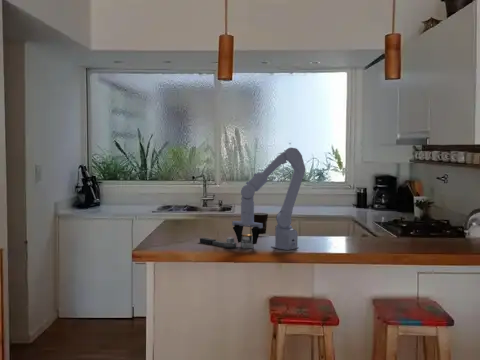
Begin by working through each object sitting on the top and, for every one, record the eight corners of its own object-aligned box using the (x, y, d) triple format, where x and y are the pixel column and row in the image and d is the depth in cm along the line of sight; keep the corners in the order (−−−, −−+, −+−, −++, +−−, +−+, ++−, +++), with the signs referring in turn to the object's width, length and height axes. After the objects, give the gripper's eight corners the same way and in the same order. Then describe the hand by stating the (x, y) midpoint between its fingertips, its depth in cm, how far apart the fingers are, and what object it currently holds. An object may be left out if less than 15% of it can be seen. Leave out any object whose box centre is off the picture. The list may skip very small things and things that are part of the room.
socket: (253, 248, 239) (253, 235, 239) (243, 248, 238) (243, 235, 238) (250, 246, 244) (251, 233, 244) (240, 246, 243) (240, 234, 242)
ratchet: (238, 247, 240) (238, 238, 240) (230, 249, 236) (230, 239, 236) (206, 241, 255) (206, 232, 255) (197, 242, 252) (197, 233, 252)
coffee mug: (261, 235, 276) (261, 215, 275) (247, 233, 281) (247, 213, 280) (274, 232, 285) (274, 213, 284) (260, 230, 290) (260, 211, 290)
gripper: (266, 212, 240) (266, 243, 241) (238, 210, 247) (238, 240, 248) (258, 214, 234) (258, 245, 235) (229, 211, 241) (229, 242, 242)
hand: (247, 243), depth 241 cm, fingers open, 7 cm apart
